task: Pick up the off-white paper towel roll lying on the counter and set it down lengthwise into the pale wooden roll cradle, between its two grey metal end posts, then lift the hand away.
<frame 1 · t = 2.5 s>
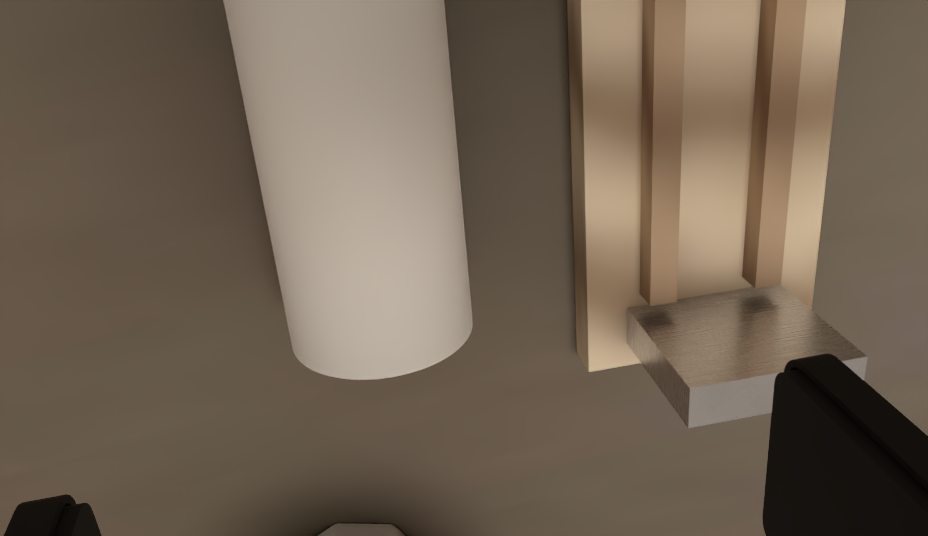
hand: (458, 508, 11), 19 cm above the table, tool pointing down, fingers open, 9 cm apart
paper roll: (351, 130, 28), on the table
roll cradle: (693, 86, 29), on the table
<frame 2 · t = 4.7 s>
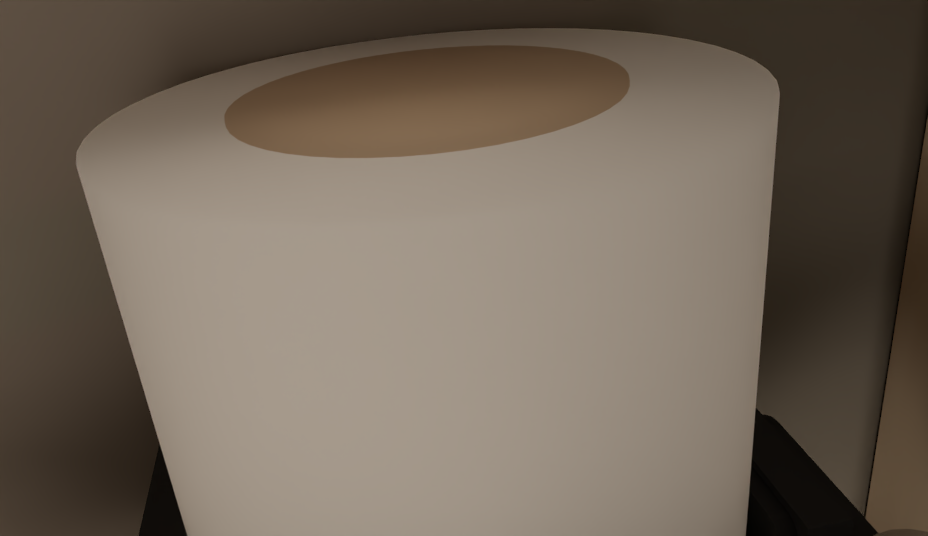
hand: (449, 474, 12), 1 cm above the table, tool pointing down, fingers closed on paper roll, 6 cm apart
paper roll: (438, 435, 13), on the table, touching gripper
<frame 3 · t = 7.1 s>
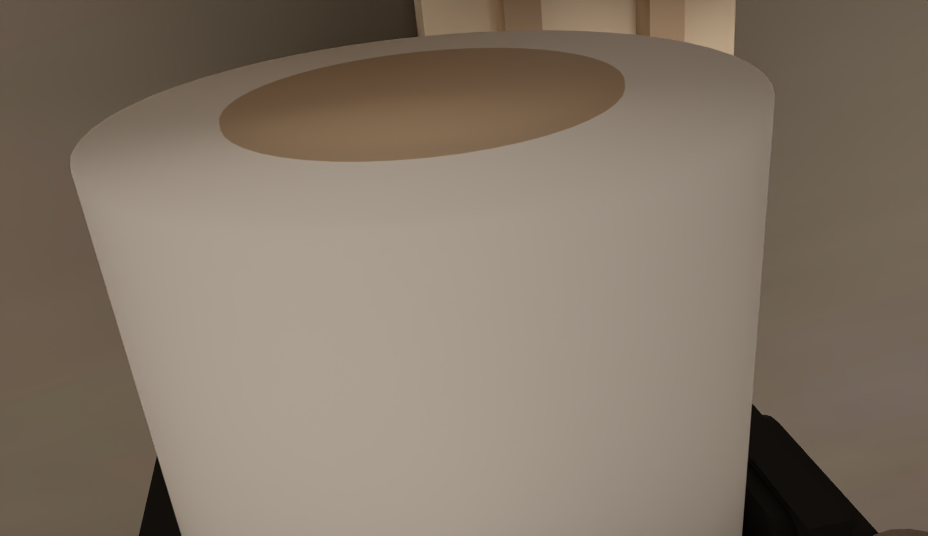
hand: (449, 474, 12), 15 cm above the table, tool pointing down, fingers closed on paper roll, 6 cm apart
paper roll: (435, 437, 13), point 14 cm above the table, touching gripper
roll cradle: (574, 136, 26), on the table
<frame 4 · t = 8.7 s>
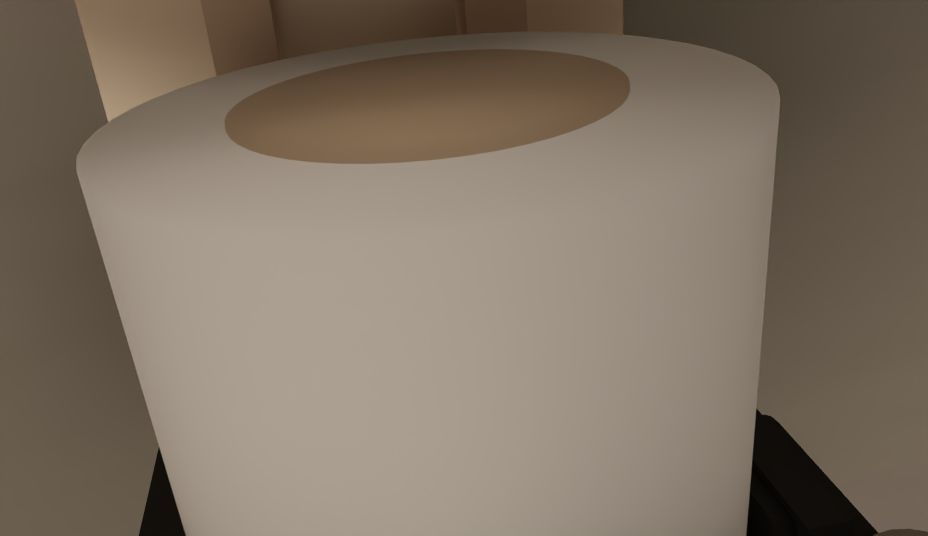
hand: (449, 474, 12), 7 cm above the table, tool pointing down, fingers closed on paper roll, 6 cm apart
paper roll: (438, 438, 13), point 6 cm above the table, touching gripper
roll cradle: (397, 280, 18), on the table
when the fingers open (3 cm above the table, at t = 9.8 s): paper roll stays where it is, resting on roll cradle.
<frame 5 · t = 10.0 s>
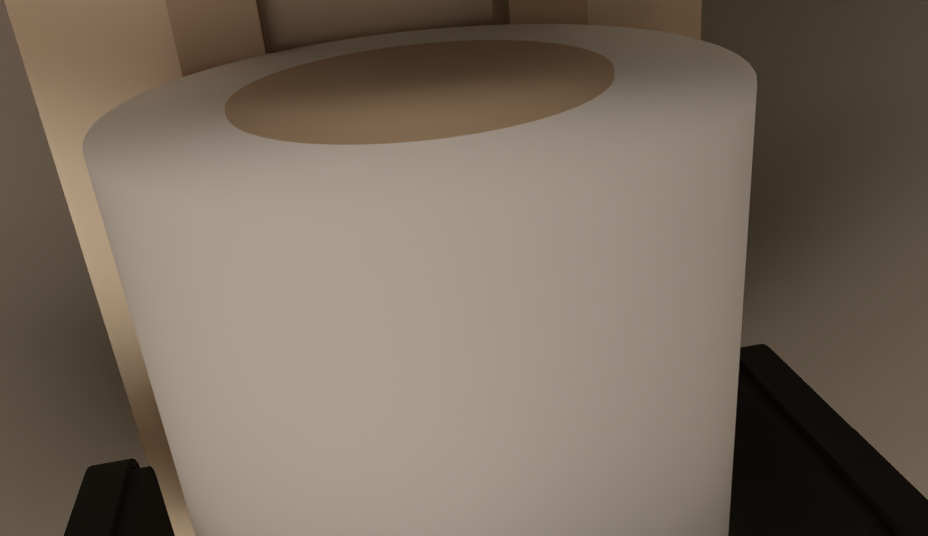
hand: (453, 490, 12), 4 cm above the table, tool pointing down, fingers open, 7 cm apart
paper roll: (438, 423, 13), point 2 cm above the table, touching roll cradle
roll cradle: (416, 356, 15), on the table
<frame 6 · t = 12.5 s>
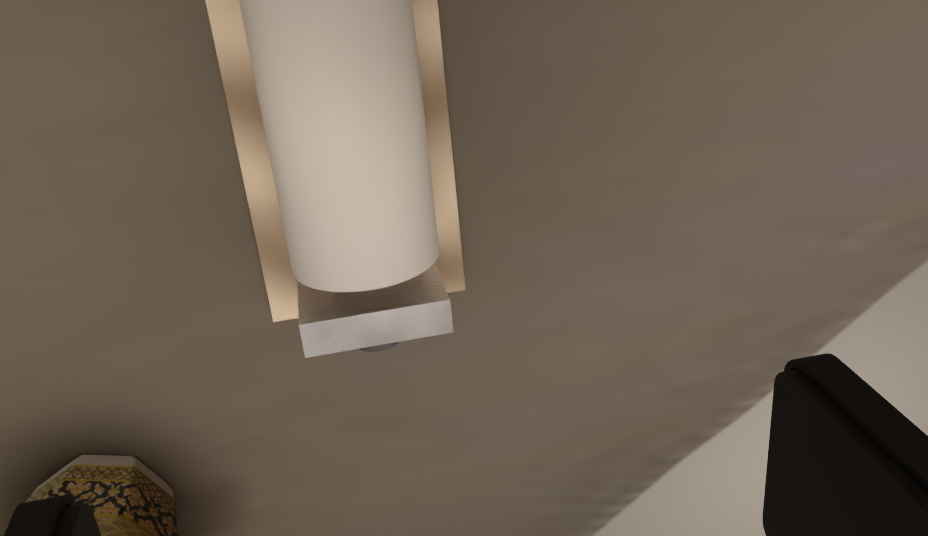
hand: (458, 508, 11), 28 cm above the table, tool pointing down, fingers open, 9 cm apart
paper roll: (339, 95, 34), point 2 cm above the table, touching roll cradle
ceramic cup: (107, 527, 43), on the table
roll cradle: (336, 85, 36), on the table
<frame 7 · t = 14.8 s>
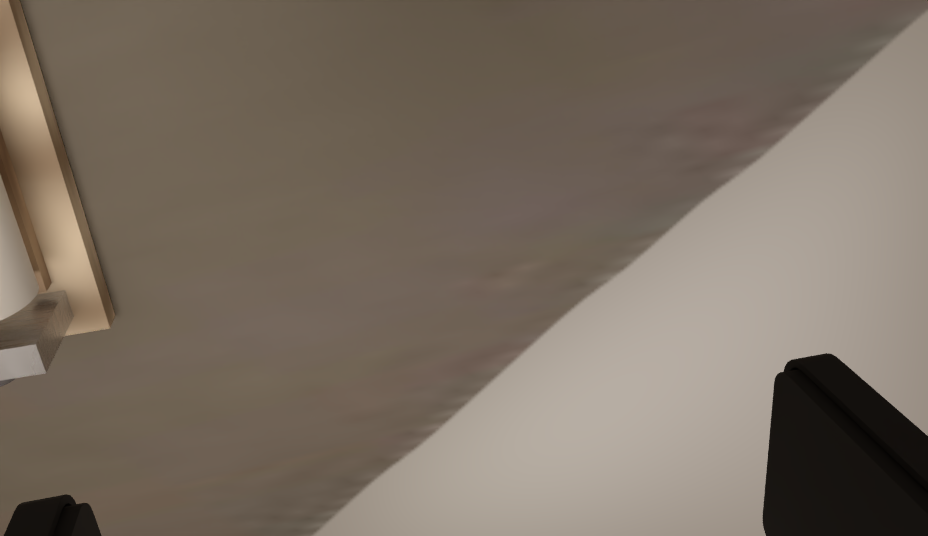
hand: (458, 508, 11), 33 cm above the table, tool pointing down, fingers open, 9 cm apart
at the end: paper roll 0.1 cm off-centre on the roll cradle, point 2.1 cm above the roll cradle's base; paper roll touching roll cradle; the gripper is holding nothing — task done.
